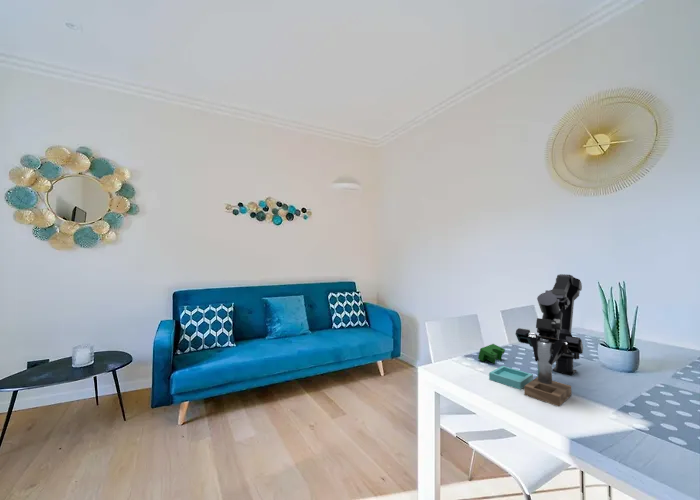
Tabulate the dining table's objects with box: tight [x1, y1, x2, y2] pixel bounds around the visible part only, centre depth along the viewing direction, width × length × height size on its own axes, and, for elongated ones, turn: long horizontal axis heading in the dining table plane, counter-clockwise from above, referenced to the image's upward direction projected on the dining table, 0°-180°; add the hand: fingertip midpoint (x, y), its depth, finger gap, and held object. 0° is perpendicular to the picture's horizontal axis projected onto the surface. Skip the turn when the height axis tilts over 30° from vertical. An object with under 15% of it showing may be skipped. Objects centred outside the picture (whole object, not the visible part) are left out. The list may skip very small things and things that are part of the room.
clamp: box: [477, 343, 506, 364], centre depth 133 cm, size 12×6×9 cm, turn 121°
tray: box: [488, 365, 534, 391], centre depth 112 cm, size 11×11×2 cm
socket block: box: [523, 376, 572, 407], centre depth 101 cm, size 12×10×3 cm
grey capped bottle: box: [537, 338, 553, 384], centre depth 99 cm, size 4×4×14 cm
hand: (543, 362), depth 98 cm, fingers closed on grey capped bottle, 4 cm apart
